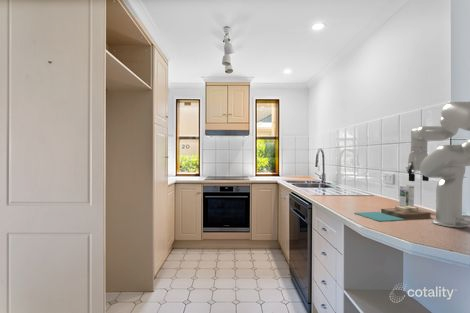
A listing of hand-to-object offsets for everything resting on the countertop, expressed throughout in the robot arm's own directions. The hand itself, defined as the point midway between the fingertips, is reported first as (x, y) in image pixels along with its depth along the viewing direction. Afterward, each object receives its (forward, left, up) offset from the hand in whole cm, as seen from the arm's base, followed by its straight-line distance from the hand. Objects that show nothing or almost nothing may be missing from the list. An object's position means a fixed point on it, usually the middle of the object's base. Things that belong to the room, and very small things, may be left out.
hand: (418, 180), depth 144 cm
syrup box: (+15, -8, -19) cm, 26 cm away
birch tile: (-1, +9, -16) cm, 18 cm away
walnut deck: (-1, +10, -19) cm, 21 cm away
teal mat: (-1, +27, -19) cm, 33 cm away
